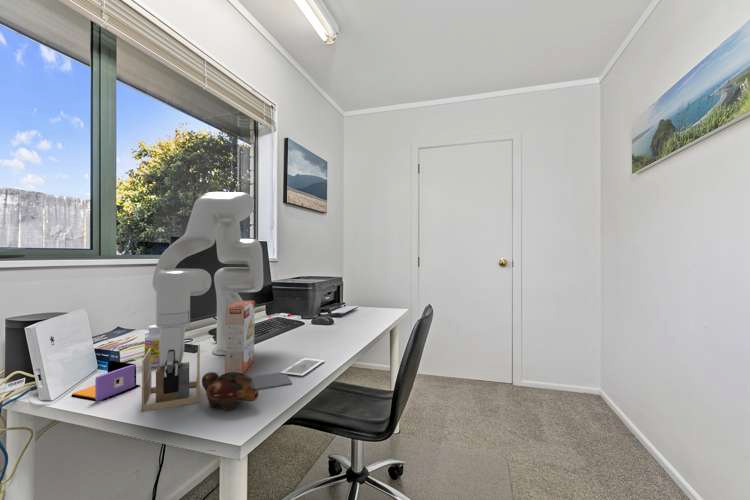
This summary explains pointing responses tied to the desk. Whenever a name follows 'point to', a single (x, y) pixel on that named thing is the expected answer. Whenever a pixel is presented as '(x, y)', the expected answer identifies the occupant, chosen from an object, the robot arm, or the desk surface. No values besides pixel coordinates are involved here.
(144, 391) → the wooden rack
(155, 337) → the supplement bottle
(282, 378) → the rubber mat
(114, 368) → the toy room diorama
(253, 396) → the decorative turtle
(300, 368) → the touchpad
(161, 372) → the box
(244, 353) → the cracker box
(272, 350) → the desk surface
